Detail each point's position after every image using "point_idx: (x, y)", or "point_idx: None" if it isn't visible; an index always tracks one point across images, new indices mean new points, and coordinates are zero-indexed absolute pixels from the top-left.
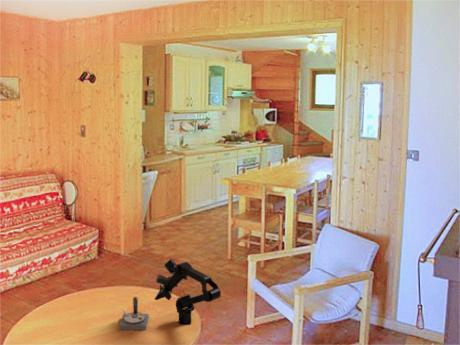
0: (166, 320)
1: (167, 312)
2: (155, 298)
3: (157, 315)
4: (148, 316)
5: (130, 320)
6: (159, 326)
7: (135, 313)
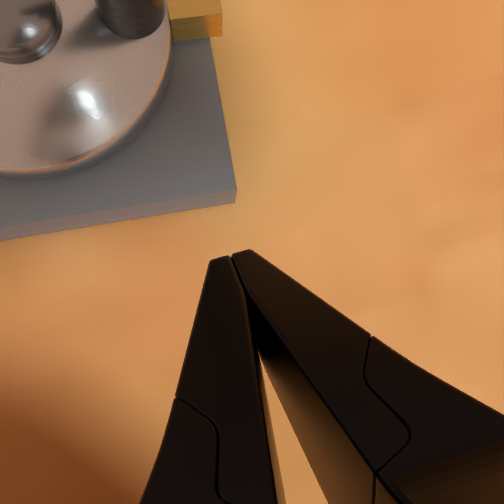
0: None
1: None
2: (205, 283)
3: (328, 287)
4: (211, 199)
5: None
6: (45, 396)
7: (40, 9)
